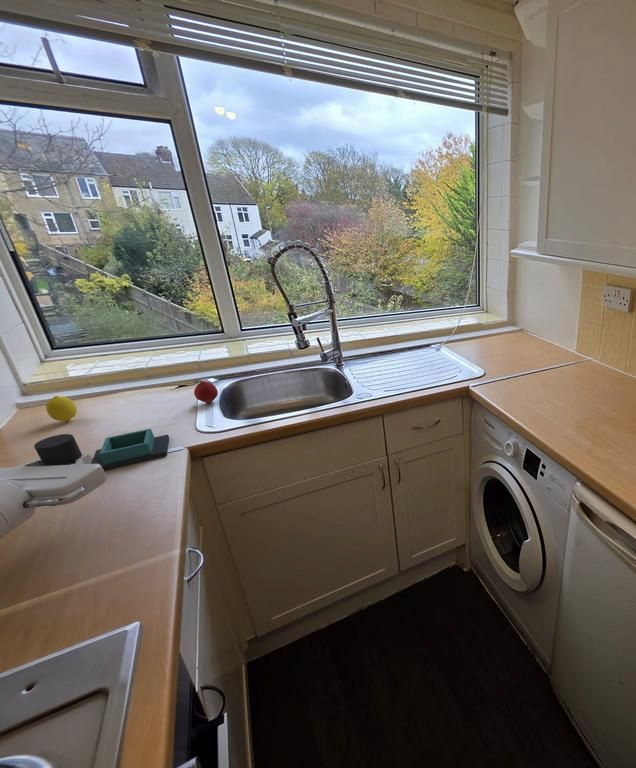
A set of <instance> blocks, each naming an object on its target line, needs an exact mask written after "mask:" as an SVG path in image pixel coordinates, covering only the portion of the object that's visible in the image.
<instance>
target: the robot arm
mask: <svg viewBox="0 0 636 768" xmlns="http://www.w3.org/2000/svg"><path fill="white" fill-rule="evenodd" d="M92 460H93V458H92V457H91V455H90V454H82V455H79V456H78V457H76V458H74V459H73V461H74V462H75V464H70V465H54V466H44V465H43V463H42V461H41V459H40V457H38V458H36V459H34V460H31V461H28V462H26V463H23V464H20V465H16V466H12V467H10V466H8V467H0V540H2V539H3V538H5V537H6V536H8V535H9V534H10V533H11V532H13V531H14V530H16V529H17V528H18V527H20V526H21V525H22V524H23V523H25V522H26V521H27V520H29V519H30V518H32V517H33V515H34V513H35V512H36V508H41V507H56V506H57V507H58V506H65V505H69V504H72V503H75V502H77V501H79V500H80V499H82V498H84V497H85V496H87V495H88V494H90V493H92V492H93V491H95V490H96V489H98V488H99V487H101V486H102V485H104V483H106V481H107V475H106V473H105V471H104V470H103V468H102V467H101V465H100V464H91V462H92Z"/></svg>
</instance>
